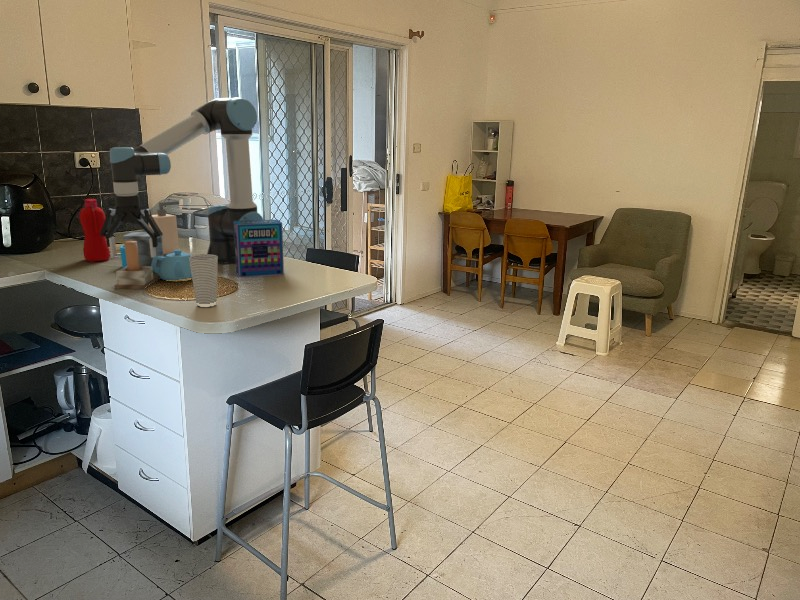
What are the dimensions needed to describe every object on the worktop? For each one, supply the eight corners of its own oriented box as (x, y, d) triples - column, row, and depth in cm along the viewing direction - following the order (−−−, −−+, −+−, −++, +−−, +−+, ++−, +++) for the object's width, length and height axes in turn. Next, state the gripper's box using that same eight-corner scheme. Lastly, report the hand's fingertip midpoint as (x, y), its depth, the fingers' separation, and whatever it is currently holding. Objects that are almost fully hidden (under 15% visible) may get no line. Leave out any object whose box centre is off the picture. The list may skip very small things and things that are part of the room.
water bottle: (88, 263, 238) (80, 201, 232) (83, 259, 247) (75, 198, 240) (113, 261, 244) (106, 200, 237) (107, 256, 252) (100, 197, 245)
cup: (208, 310, 181) (205, 260, 177) (186, 307, 184) (182, 258, 180) (226, 303, 189) (223, 255, 185) (204, 300, 192) (201, 253, 188)
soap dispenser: (161, 254, 259) (157, 203, 252) (150, 252, 264) (146, 202, 257) (187, 250, 268) (183, 201, 262) (176, 248, 273) (172, 200, 267)
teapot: (179, 272, 229) (177, 244, 226) (210, 276, 223) (208, 248, 220) (148, 280, 215) (145, 251, 212) (180, 285, 210) (178, 255, 207)
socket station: (166, 275, 223) (162, 232, 218) (145, 289, 203) (141, 242, 199) (136, 275, 222) (132, 232, 218) (113, 288, 203) (107, 241, 199)
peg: (143, 280, 210) (138, 240, 206) (139, 282, 206) (134, 243, 203) (131, 280, 210) (126, 241, 206) (127, 282, 206) (122, 243, 202)
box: (279, 269, 236) (277, 219, 230) (283, 274, 228) (282, 222, 222) (236, 272, 230) (233, 220, 224) (239, 277, 222) (236, 224, 216)
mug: (126, 269, 230) (124, 249, 228) (119, 266, 236) (117, 245, 234) (157, 265, 238) (155, 245, 236) (150, 262, 244) (148, 242, 242)
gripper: (168, 193, 204) (173, 254, 210) (94, 192, 203) (102, 253, 209) (160, 196, 197) (166, 258, 203) (83, 195, 196) (92, 258, 202)
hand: (133, 256), depth 206 cm, fingers open, 13 cm apart
